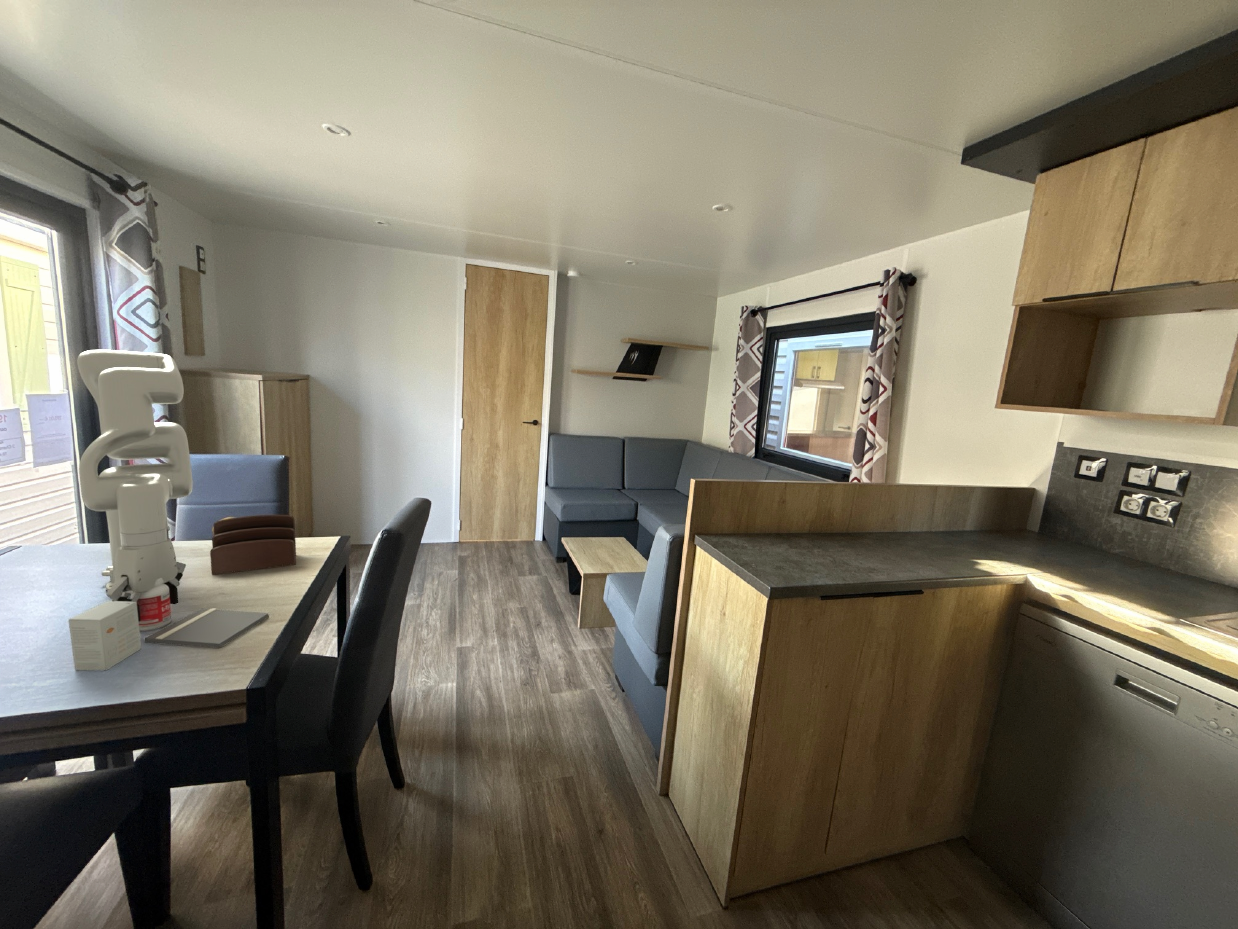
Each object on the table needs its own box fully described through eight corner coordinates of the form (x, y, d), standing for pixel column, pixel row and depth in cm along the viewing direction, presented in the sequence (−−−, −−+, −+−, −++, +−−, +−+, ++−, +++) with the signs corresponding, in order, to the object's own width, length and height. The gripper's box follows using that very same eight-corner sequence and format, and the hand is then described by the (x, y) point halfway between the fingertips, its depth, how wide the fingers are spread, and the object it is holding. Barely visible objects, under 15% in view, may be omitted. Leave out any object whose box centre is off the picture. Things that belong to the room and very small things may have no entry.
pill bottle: (169, 628, 109) (164, 580, 108) (130, 634, 106) (126, 585, 104) (174, 616, 114) (170, 571, 113) (138, 621, 111) (133, 575, 109)
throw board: (144, 642, 103) (144, 637, 103) (202, 612, 117) (201, 607, 117) (219, 648, 103) (219, 642, 103) (268, 617, 117) (268, 612, 117)
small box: (112, 648, 100) (107, 600, 99) (142, 649, 101) (137, 600, 99) (73, 671, 93) (66, 619, 91) (105, 671, 93) (99, 619, 91)
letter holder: (216, 563, 146) (213, 517, 143) (296, 555, 156) (294, 512, 154) (211, 575, 137) (207, 527, 135) (296, 565, 148) (294, 520, 146)
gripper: (165, 524, 116) (171, 594, 118) (84, 549, 98) (93, 630, 101) (197, 527, 115) (202, 597, 118) (121, 551, 98) (129, 632, 101)
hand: (152, 612), depth 110 cm, fingers open, 8 cm apart
